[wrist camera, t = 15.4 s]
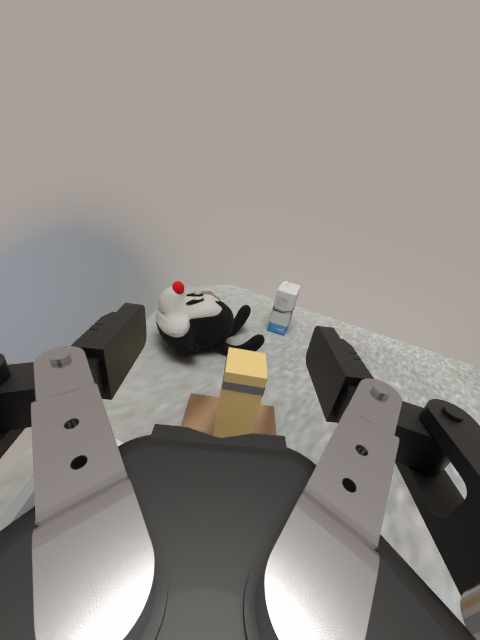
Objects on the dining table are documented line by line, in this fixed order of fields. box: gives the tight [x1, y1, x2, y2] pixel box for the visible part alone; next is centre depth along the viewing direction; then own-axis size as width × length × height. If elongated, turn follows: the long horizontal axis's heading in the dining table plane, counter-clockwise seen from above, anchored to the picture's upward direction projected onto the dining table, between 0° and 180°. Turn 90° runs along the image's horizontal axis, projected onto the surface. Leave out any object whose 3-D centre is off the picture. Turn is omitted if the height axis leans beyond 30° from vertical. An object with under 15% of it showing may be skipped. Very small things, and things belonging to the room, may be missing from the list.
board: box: [181, 393, 276, 436], centre depth 36 cm, size 14×12×1 cm
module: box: [213, 347, 267, 438], centre depth 33 cm, size 5×5×13 cm
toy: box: [156, 281, 264, 357], centre depth 52 cm, size 16×17×21 cm
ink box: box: [267, 281, 301, 335], centre depth 66 cm, size 9×5×12 cm, turn 159°
